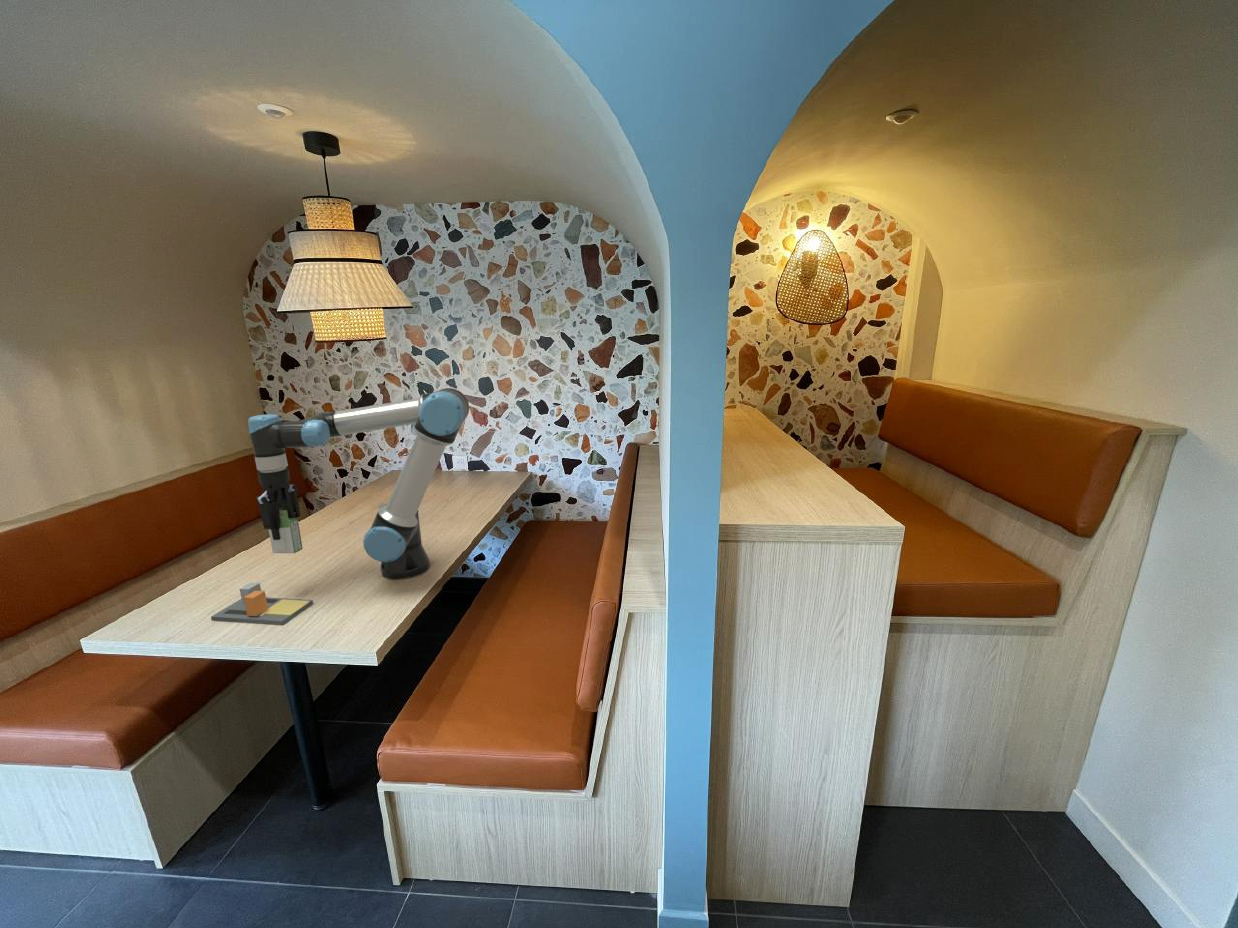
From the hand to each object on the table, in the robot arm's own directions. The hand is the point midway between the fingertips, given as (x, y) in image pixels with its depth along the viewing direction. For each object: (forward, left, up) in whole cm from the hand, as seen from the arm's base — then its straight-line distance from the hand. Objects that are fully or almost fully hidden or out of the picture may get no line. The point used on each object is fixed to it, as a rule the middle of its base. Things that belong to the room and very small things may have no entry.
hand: (287, 545), depth 160 cm
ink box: (0, 0, -2) cm, 2 cm away
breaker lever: (+13, -1, -14) cm, 20 cm away
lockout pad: (+9, +4, -15) cm, 18 cm away
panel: (+10, -2, -16) cm, 19 cm away
